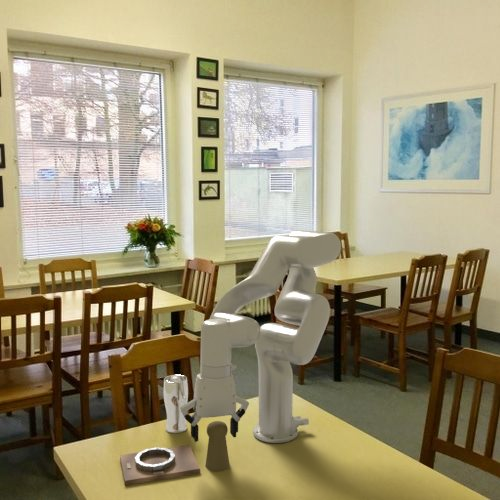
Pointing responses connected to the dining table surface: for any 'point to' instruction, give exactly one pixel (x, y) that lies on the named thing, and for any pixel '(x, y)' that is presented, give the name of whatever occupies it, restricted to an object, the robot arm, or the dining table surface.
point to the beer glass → (175, 402)
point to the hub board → (182, 465)
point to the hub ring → (154, 467)
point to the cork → (217, 447)
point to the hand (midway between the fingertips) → (214, 437)
